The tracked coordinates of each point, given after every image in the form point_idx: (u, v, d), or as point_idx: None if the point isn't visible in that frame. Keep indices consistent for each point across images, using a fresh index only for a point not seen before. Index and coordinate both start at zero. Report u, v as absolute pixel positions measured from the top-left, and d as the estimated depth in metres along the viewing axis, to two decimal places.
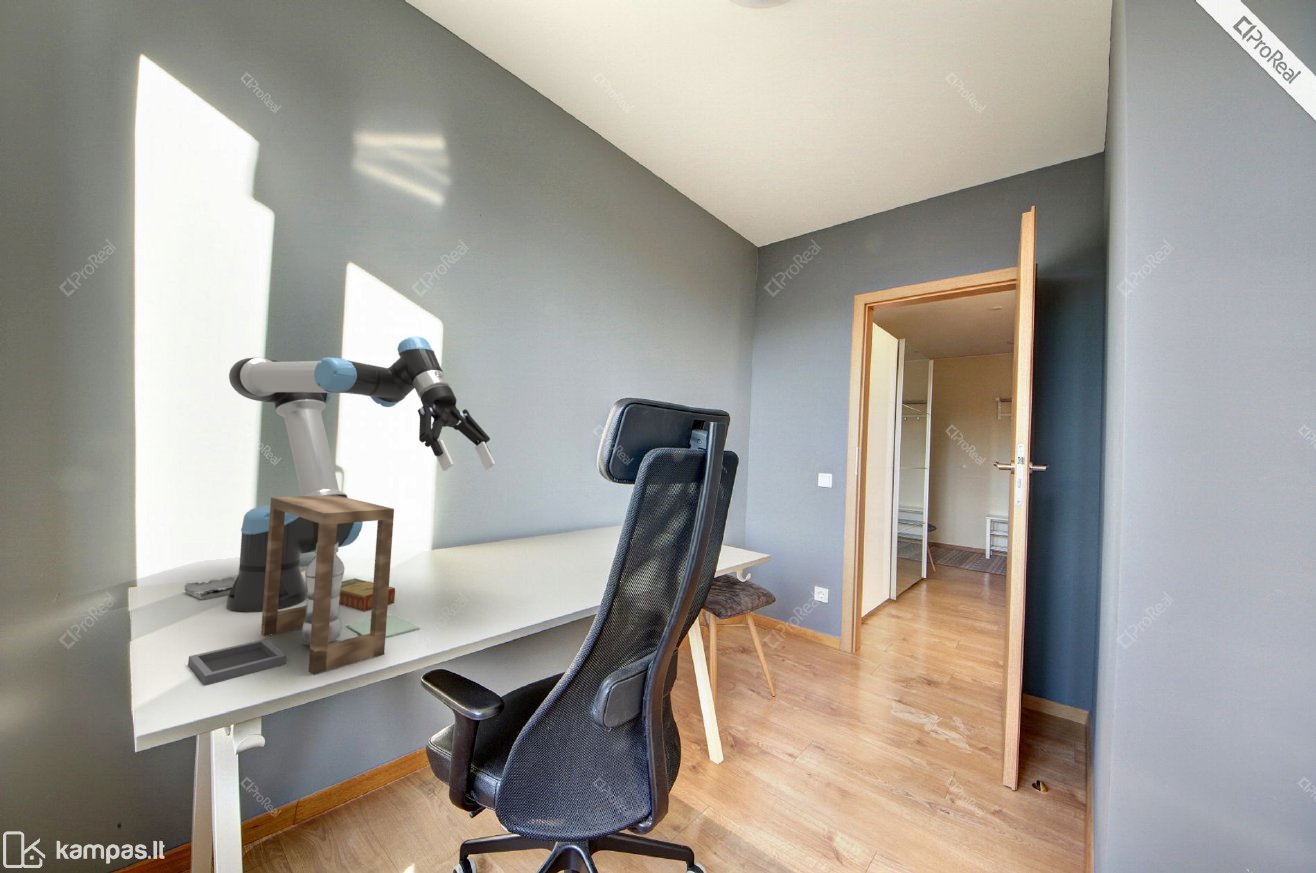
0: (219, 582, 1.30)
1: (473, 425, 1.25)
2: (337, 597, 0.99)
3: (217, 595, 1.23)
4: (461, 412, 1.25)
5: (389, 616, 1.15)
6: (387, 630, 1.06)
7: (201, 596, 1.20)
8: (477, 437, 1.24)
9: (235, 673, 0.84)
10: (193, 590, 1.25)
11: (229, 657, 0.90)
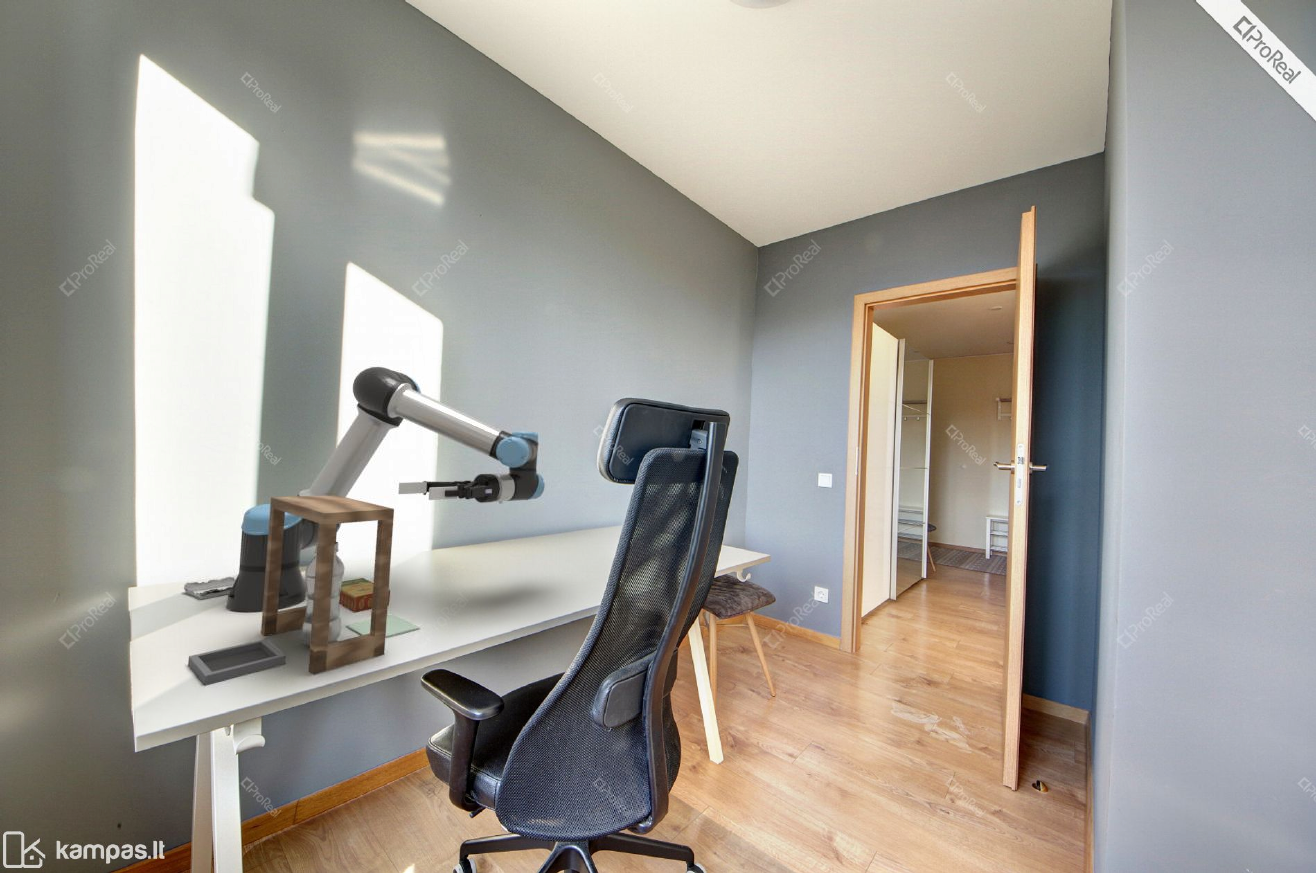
0: (219, 582, 1.30)
1: None
2: (337, 597, 0.99)
3: (217, 595, 1.23)
4: None
5: (389, 616, 1.15)
6: (387, 630, 1.06)
7: (201, 596, 1.20)
8: None
9: (235, 673, 0.84)
10: (193, 590, 1.25)
11: (229, 657, 0.90)
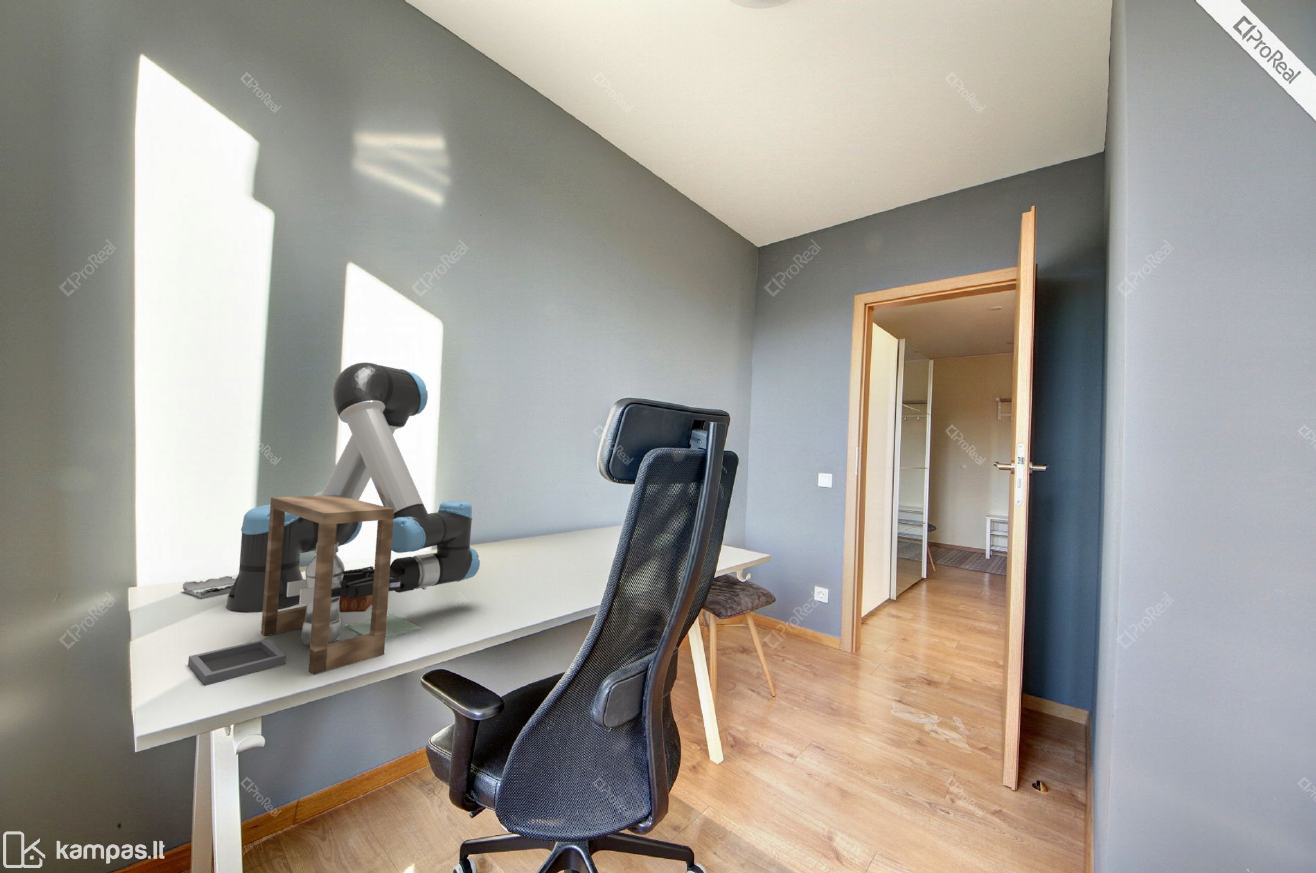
0: (217, 581, 1.30)
1: None
2: None
3: (217, 594, 1.24)
4: None
5: (389, 616, 1.15)
6: (387, 630, 1.06)
7: (201, 595, 1.21)
8: None
9: (235, 673, 0.84)
10: (191, 589, 1.26)
11: (229, 657, 0.90)
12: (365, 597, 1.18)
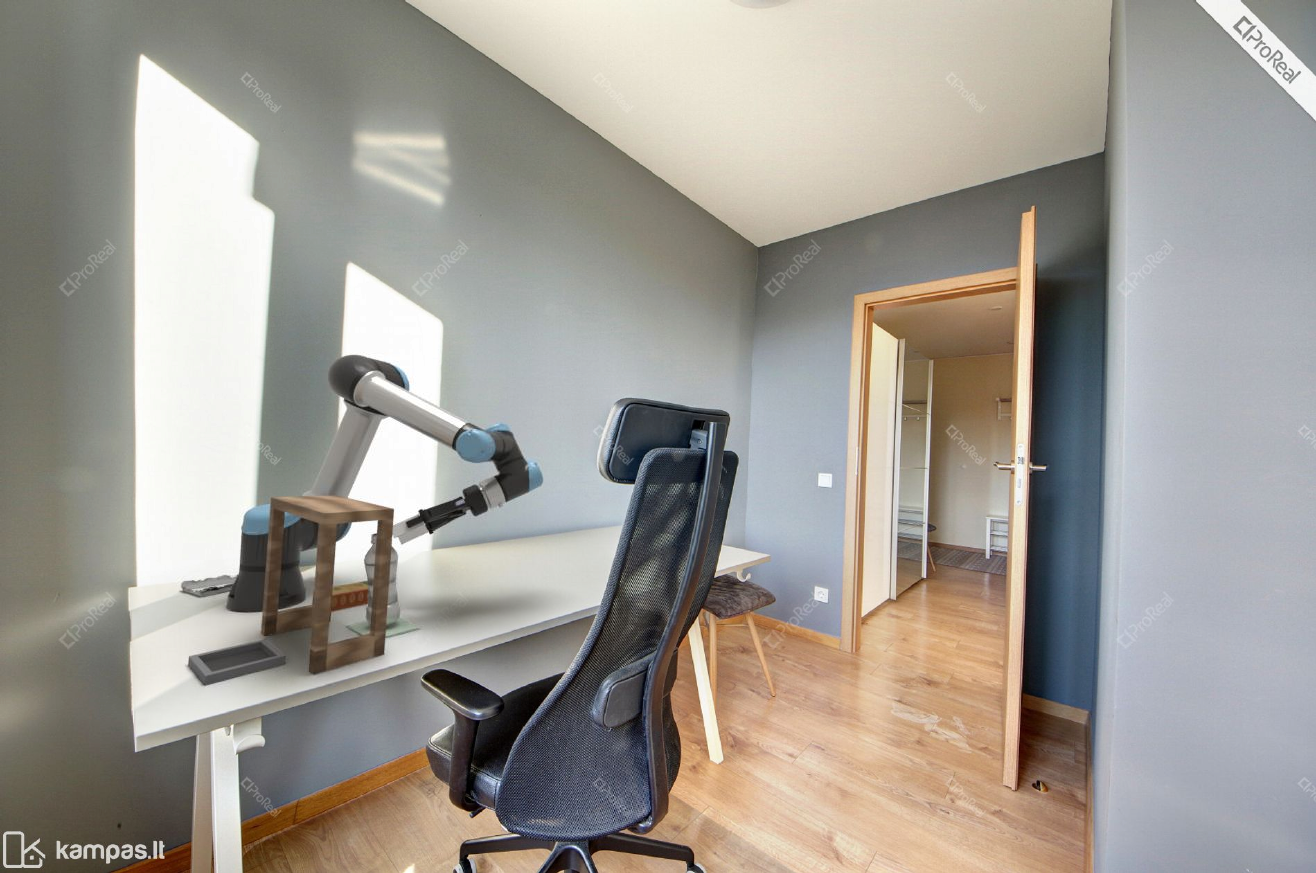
0: (215, 580, 1.31)
1: None
2: (394, 582, 1.09)
3: (216, 592, 1.25)
4: None
5: None
6: (387, 630, 1.06)
7: (200, 593, 1.22)
8: (433, 526, 1.25)
9: (235, 673, 0.84)
10: (189, 588, 1.27)
11: (229, 657, 0.90)
12: None
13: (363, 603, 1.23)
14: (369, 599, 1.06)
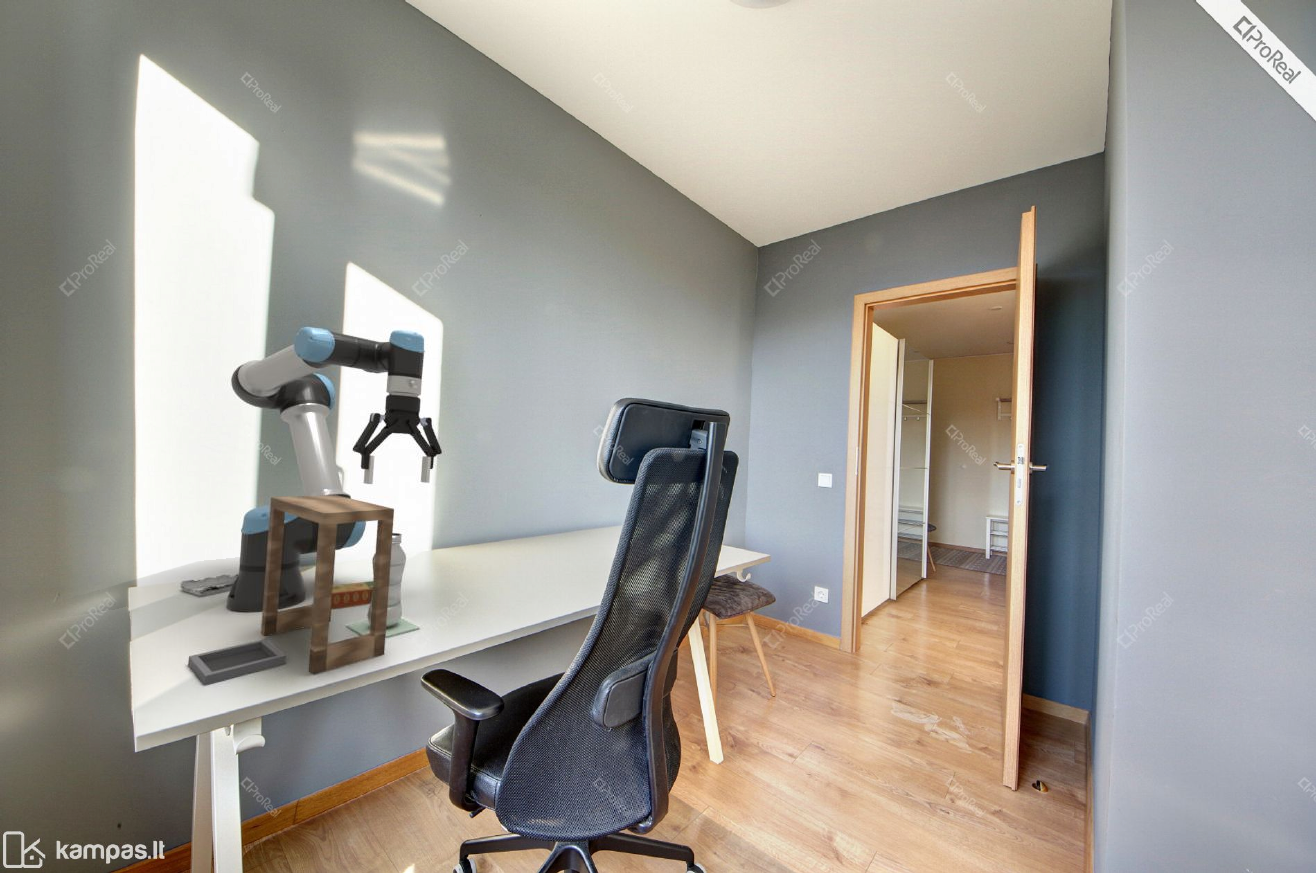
0: (214, 579, 1.31)
1: (430, 436, 1.26)
2: (399, 584, 1.09)
3: (215, 592, 1.25)
4: (424, 419, 1.24)
5: None
6: (387, 630, 1.06)
7: (200, 593, 1.22)
8: (426, 450, 1.25)
9: (235, 673, 0.84)
10: (189, 588, 1.27)
11: (229, 657, 0.90)
12: None
13: (358, 604, 1.22)
14: None
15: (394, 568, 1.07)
